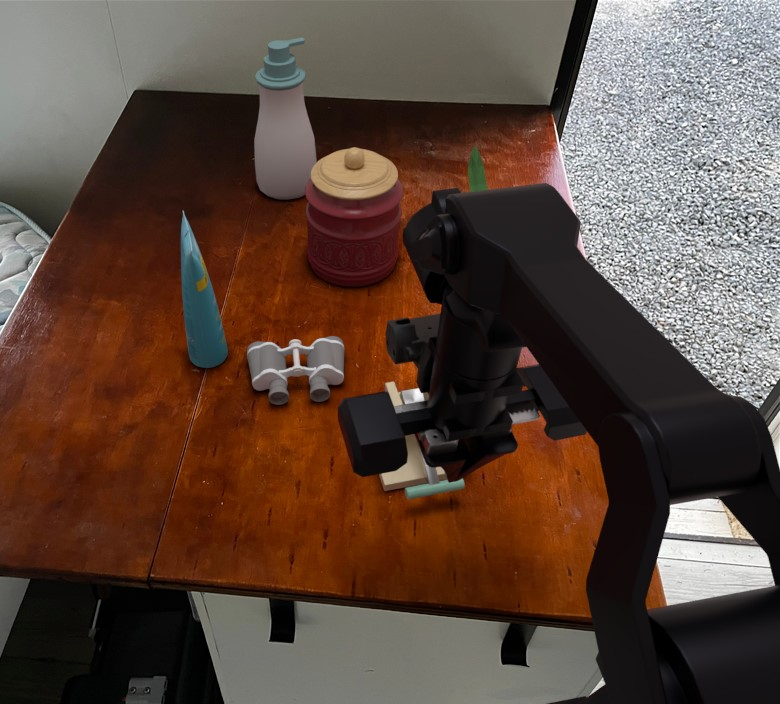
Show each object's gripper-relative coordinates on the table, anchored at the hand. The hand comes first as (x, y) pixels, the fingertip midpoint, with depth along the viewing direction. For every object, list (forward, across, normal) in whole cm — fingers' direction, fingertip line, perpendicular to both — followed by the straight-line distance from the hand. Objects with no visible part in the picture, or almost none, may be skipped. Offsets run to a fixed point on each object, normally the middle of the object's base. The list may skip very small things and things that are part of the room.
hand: (451, 477), depth 60 cm
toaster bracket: (+13, -2, -14) cm, 19 cm away
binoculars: (+13, +9, -26) cm, 30 cm away
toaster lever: (+10, -1, -10) cm, 14 cm away
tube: (+13, +19, -32) cm, 40 cm away
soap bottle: (+13, +2, -68) cm, 69 cm away
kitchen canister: (+13, -3, -46) cm, 48 cm away
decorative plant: (+13, -22, -43) cm, 50 cm away
